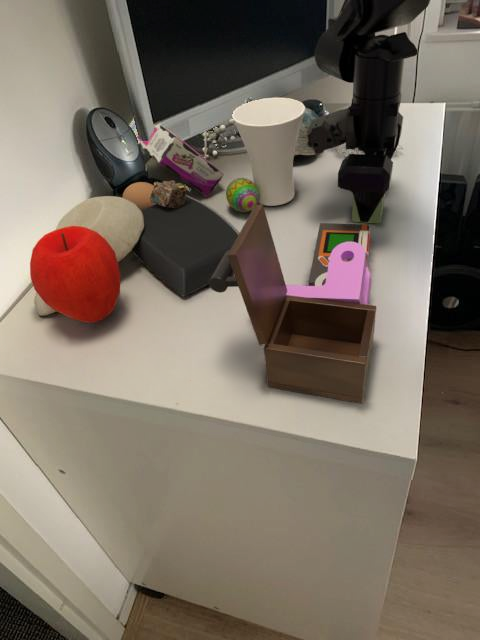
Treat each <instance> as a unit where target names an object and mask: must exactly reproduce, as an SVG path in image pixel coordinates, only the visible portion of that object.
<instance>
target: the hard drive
mask: <svg viewBox="0 0 480 640" xmlns="http://www.w3.org/2000/svg"><path fill="white" fill-rule="evenodd" d="M141 212H142V214H143V217H144V228H143V231H142V232H141V235H140V237H139V240H138V241H137V243H136V244H135V246H134V247H133V248H132V250H131V251H132V253H133V254H134V255H135V256H136V257H137V258H138V259H139V260H140V262H141V263H142V264H143V265H144V266H145V267H146V268H148V270H149V271H150V272H152V273H153V275H154V276H156V277H157V278H158V279H159V280H161V281H162V282H163V283H164V284H165V285H167V286H168V287H169V288H170V289H172V290H174V291H175V292H176V293H177V294H178V295H179V294H180V295H181V296H183V297H185V296H188V295H190V294H192V293H194V292H196V291H198V290H201V288H204V287H205V286H209V280H210V278H211V277H212V275H213V273H214V271H215V270H216V268H217V266H218V264H219V263H220V261H221V259H222V257H223V256H224V254H225V252H226V251H228V250H230V249H231V248H232V246H233V244H234V242H235V241H236V239H237V237H238V235H239V233H240V231H239V230H238V229H237V228H236V226H234V225H233V224H232V223H231V222H230V221H228V220H227V219H226V218H225V217H224V216H223V215H221V214H220V213H219V212H218V211H216V210H215V209H214V208H212V207H210V206H209V205H207V204H206V203H203V202H202V201H201V200H198V199H196V198H194V197H191V196H189V195H187V194H186V199H185V203H184V204H183V205H181V206H180V207H178V208H167V207H164V206H162V205H159V204H154V205H152V206H150V207H148V208H145V209H143V210H141Z"/></svg>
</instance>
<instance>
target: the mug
mask: <svg viewBox="0 0 480 640" xmlns="http://www.w3.org/2000/svg"><path fill="white" fill-rule="evenodd" d="M319 117H320V116H319V115H318V114H317V113H316V112H315V111H313V110H312V109H310V108H307V107H305V113H304V116H303V120H302V123H301V127H300V131H299V135H298V138H297V142H296V146H295V151H294V156H297V155H298V156H299V155H301V156H313V155H316V154H315V152H314V150H313V147H312V148H310V147H308V145H307V143H308V137H307V130H308V128H309V126H310V124H311V122H312V121H313V120H315V119H317V118H319Z"/></svg>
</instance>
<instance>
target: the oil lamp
mask: <svg viewBox="0 0 480 640" xmlns="http://www.w3.org/2000/svg"><path fill="white" fill-rule="evenodd" d="M69 226H80V227H86V228H88V229H91V230H93V231H95V232H97V233H98V234H100V235H101V236H102V237H103V238H104V239H105V240H106V241H107V242H108V243H109V245H110V246H111V247H112V249H113V250H114V251H115V254H116V258H117V262H118V263H119V262H120V261H122V260H123V259H124V258H125V257H126V256H127V255H128V254H129V253H131V251H132V248H133V247H134V246H135V244H136V243H137V241H138V240H139V237H140V235H141V232H142V231H143V228H144V217H143V214H142V212H141V210H140V209H139V208H138V207H137V205H135V204H134V203H132V202H131V201H128V200H126V199H124V198H123V197H120V196H113V195H103V196H94V197H89V198H87V199H85V200H83V201H82V202H80V203H78V204H76V205H75V206H73V208H71V209H70V210H69V211H67V213H65V214H64V215H63V216H62V218H61V219H60V220H59V221H58V223H57V225H56V228H55V230H58V229H61V228H64V227H69ZM33 303H34V307H35V310H36V313H37V314H38V315H39V316H41V317H42V316H48V315H51V314H54V313H56V312H57V311H55V310H53V309H52V308H51V307H49V306H48V305H47V304H46V303H45V302H44V301H43V300H42V299H41V297H40V296H39V295H38V293H37V292H36V291H35V295H34V301H33Z"/></svg>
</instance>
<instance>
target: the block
mask: <svg viewBox="0 0 480 640" xmlns="http://www.w3.org/2000/svg"><path fill="white" fill-rule="evenodd" d="M352 196H353V195H352ZM385 196H386V193H385V194H384V196H383V198H382V199H381V201H380V203H379V204H378V206H377V208H376V209H375V211H374V213H373V215H372V216H371V218H370V220H369V221H368V222H361V221H360V219H359V215H358V211H357V207H356V203H355V199H354V196H353V197H352V210H351V211H352V212H351V213H352V214H351V222H352V223H353V222H354V223H362V224H381V222H382V217H383V213H384V209H385V208H384V206H385Z"/></svg>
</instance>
